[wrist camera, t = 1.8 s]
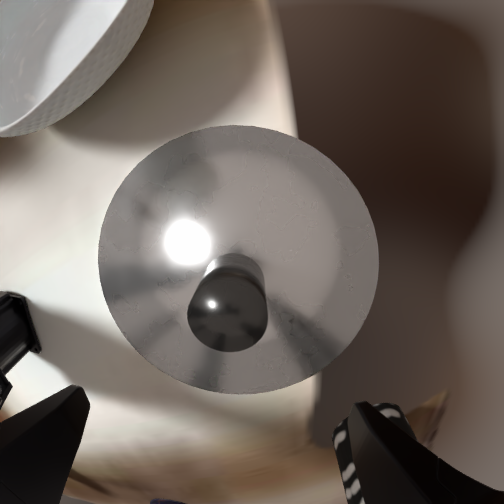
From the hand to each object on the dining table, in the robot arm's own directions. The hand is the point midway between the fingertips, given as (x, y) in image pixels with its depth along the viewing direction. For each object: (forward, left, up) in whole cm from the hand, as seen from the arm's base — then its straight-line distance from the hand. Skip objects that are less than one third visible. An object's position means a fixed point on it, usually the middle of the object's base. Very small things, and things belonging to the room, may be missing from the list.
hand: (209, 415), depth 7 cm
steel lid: (0, 0, -12) cm, 13 cm away
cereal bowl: (+19, +13, -12) cm, 26 cm away
